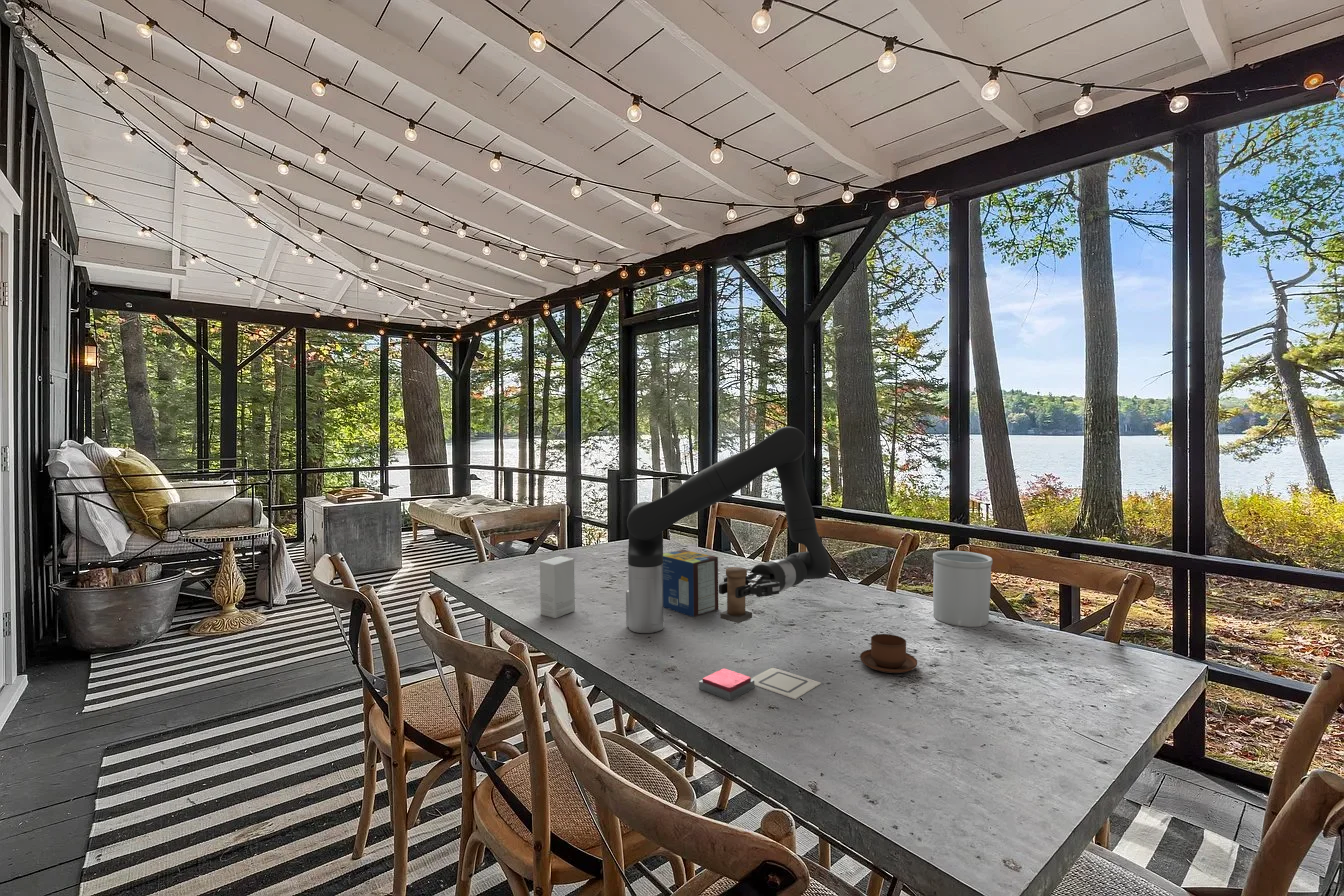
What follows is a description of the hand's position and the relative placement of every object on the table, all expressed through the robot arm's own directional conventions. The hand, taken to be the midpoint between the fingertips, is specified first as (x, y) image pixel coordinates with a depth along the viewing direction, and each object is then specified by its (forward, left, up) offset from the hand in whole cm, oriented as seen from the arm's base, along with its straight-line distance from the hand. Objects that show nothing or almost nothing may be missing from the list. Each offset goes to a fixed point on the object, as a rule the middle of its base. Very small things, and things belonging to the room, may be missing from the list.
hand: (728, 591), depth 133 cm
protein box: (-38, +29, -18) cm, 51 cm away
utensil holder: (+25, +71, -18) cm, 77 cm away
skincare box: (-62, 0, -18) cm, 64 cm away
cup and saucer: (+24, +26, -18) cm, 40 cm away
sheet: (+12, +3, -18) cm, 22 cm away
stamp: (0, +3, -7) cm, 7 cm away
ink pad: (+5, -7, -18) cm, 20 cm away
